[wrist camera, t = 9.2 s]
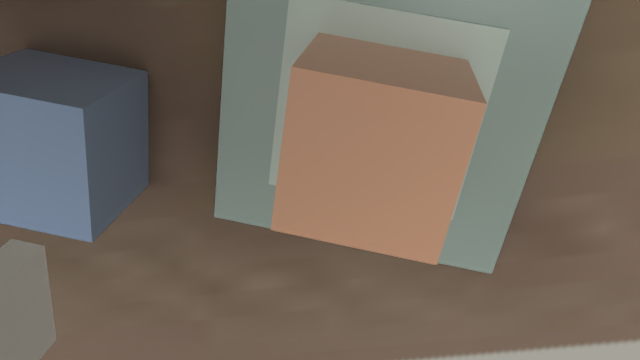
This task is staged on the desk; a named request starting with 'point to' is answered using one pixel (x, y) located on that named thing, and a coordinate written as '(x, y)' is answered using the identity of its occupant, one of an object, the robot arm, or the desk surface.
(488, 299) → the desk surface
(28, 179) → the brick blue
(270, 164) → the base plate
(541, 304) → the desk surface
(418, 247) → the brick terracotta
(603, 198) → the desk surface
